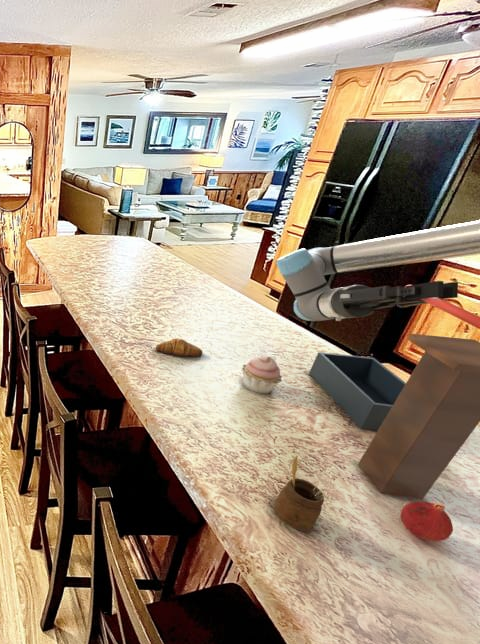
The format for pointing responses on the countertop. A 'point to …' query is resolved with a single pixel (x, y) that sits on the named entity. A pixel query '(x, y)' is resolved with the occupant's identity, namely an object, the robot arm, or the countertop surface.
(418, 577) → the countertop surface
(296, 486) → the utensil holder
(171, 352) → the croissant
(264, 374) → the cupcake
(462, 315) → the red long rounded rod
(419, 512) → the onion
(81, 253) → the countertop surface
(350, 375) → the bin
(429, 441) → the stand
